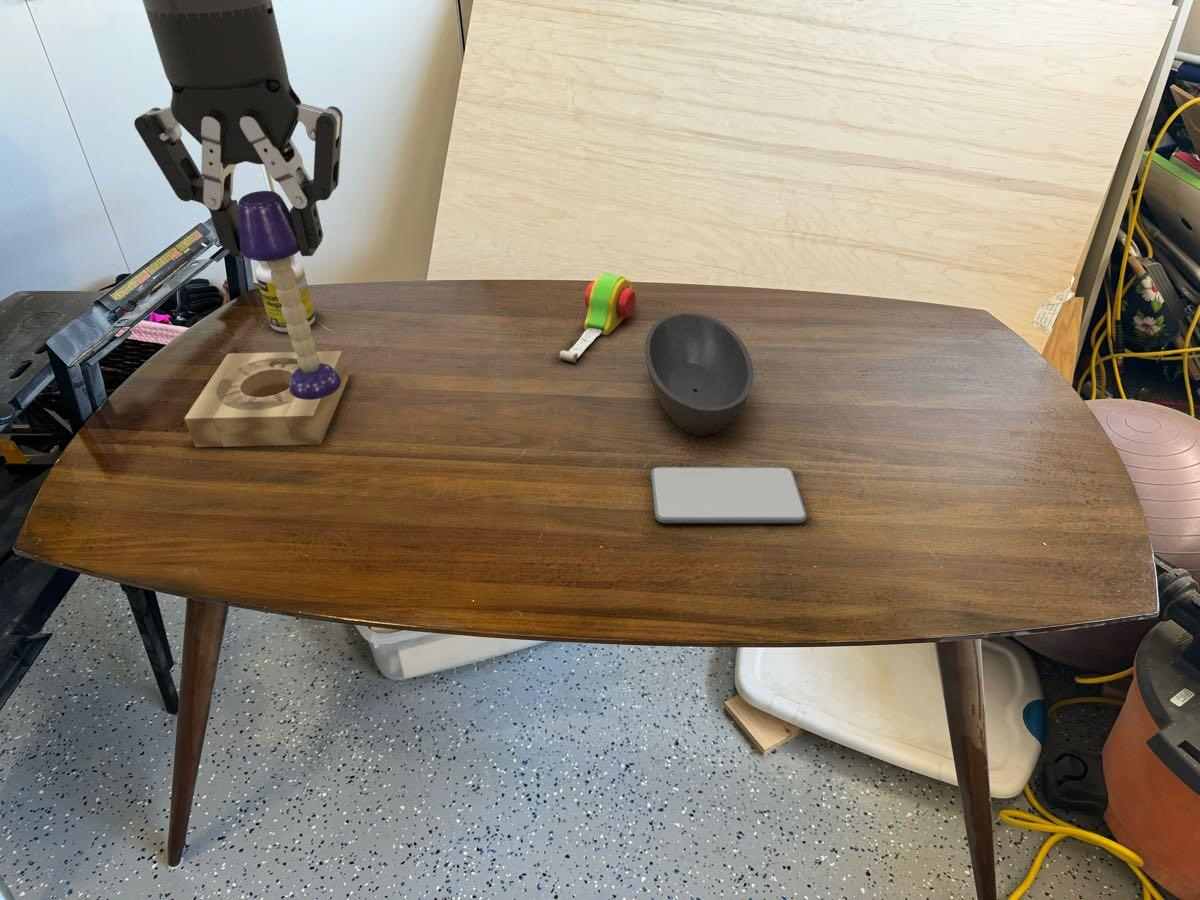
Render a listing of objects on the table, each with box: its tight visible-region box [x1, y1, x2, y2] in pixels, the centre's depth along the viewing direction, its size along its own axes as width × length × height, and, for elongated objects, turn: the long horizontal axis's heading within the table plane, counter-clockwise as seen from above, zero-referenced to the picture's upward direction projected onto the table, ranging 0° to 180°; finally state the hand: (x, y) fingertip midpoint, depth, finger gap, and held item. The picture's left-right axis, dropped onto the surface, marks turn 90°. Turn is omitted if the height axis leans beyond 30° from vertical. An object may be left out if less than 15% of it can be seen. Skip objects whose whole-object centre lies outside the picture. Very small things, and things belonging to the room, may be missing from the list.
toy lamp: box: [237, 190, 341, 400], centre depth 63 cm, size 5×5×17 cm
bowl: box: [644, 312, 754, 437], centre depth 94 cm, size 12×22×6 cm, turn 3°
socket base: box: [183, 350, 349, 448], centre depth 94 cm, size 14×14×4 cm
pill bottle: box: [255, 254, 316, 333], centre depth 109 cm, size 6×6×11 cm
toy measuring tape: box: [558, 272, 637, 363], centre depth 108 cm, size 6×20×7 cm, turn 154°
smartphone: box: [650, 466, 808, 524], centre depth 81 cm, size 8×1×15 cm
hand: (275, 251), depth 61 cm, fingers closed on toy lamp, 4 cm apart
